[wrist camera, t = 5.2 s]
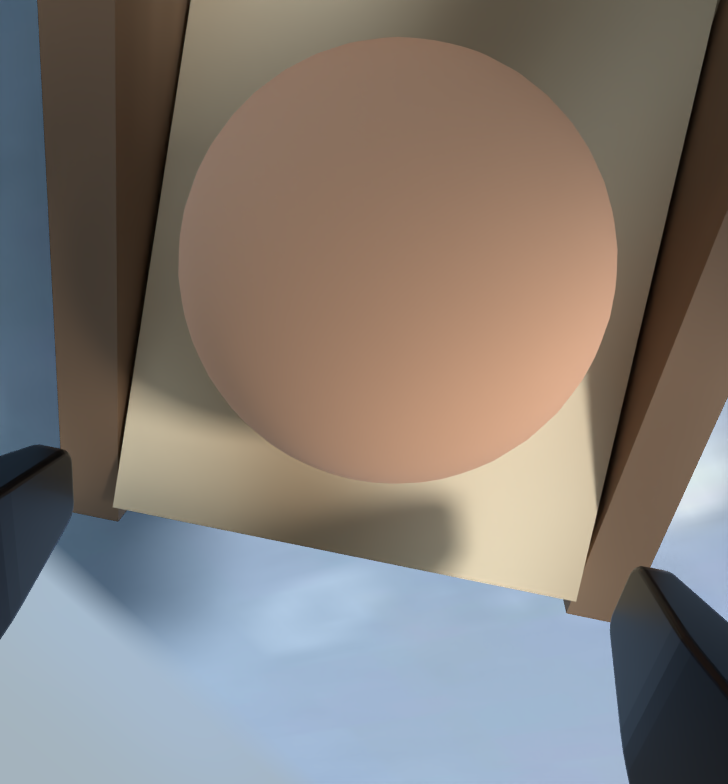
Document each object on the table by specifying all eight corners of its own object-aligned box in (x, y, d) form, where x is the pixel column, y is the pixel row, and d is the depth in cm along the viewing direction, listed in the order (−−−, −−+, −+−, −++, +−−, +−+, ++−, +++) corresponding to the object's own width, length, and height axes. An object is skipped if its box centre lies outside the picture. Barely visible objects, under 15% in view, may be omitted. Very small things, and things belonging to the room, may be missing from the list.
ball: (550, 613, 7) (789, 197, 4) (123, 525, 8) (49, 60, 4) (529, 357, 11) (647, 38, 8) (246, 302, 11) (253, -33, 8)
